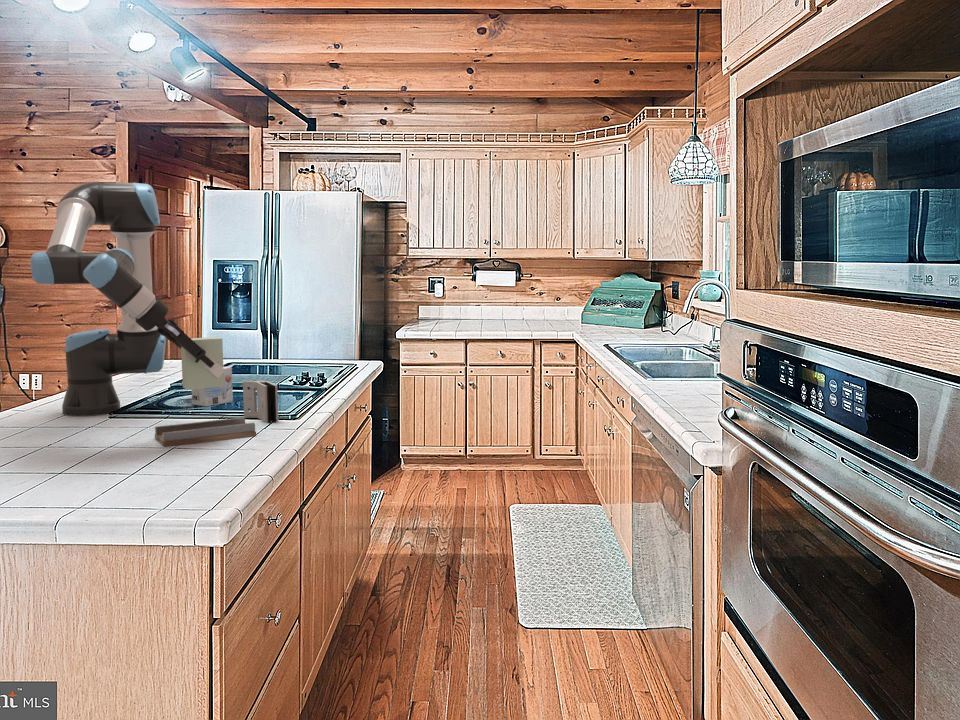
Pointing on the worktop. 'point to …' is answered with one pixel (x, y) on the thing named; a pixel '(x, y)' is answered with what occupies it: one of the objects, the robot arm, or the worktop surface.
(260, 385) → the hinge
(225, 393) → the light bulb box
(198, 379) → the door panel
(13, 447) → the worktop surface
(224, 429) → the track
